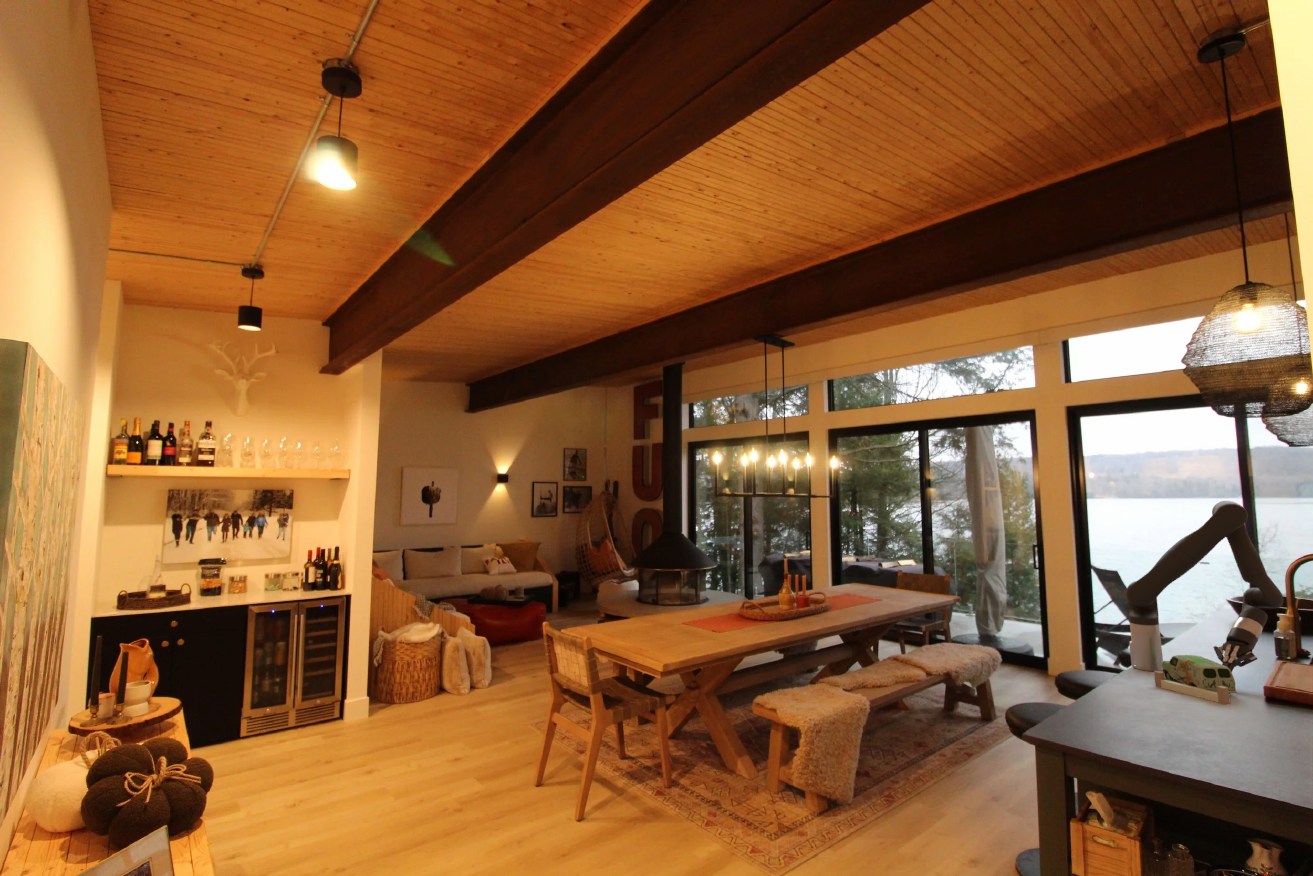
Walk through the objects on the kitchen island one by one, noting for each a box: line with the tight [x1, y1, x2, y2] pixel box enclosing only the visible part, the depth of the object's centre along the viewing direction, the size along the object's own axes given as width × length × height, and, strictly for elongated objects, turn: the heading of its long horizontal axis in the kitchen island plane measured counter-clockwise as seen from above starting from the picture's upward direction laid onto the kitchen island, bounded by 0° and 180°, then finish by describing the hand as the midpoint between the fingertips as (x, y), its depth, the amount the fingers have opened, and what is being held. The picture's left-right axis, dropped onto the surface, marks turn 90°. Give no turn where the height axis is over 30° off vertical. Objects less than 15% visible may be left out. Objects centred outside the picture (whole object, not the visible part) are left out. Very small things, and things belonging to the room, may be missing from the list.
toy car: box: [1161, 654, 1238, 695], centre depth 225 cm, size 11×25×10 cm, turn 168°
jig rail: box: [1153, 671, 1231, 705], centre depth 217 cm, size 22×2×5 cm, turn 16°
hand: (1224, 673), depth 223 cm, fingers closed
